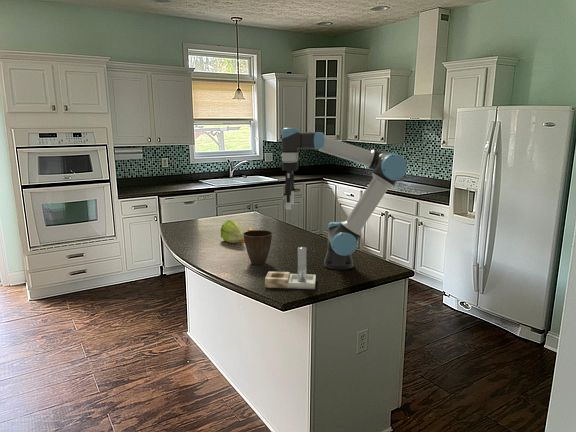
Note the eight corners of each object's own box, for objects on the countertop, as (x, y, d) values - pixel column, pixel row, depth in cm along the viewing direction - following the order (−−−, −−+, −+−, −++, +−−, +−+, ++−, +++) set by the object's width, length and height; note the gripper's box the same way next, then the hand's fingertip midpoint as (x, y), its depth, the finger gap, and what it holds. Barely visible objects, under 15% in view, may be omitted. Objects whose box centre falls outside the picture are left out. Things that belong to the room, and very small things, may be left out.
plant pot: (238, 264, 222) (237, 234, 218) (255, 257, 234) (254, 228, 231) (261, 268, 214) (261, 238, 211) (277, 261, 226) (277, 232, 223)
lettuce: (232, 249, 249) (230, 227, 246) (218, 241, 268) (216, 220, 265) (252, 245, 256) (250, 223, 252) (237, 237, 274) (235, 216, 271)
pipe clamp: (241, 243, 263) (240, 233, 262) (236, 241, 266) (236, 231, 265) (255, 239, 272) (254, 229, 271) (250, 238, 275) (250, 228, 274)
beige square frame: (289, 280, 198) (289, 272, 197) (287, 288, 188) (287, 279, 187) (268, 279, 199) (268, 271, 198) (265, 287, 189) (264, 278, 188)
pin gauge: (306, 280, 195) (306, 247, 192) (306, 283, 191) (306, 249, 188) (297, 280, 195) (298, 246, 192) (297, 283, 191) (297, 249, 188)
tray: (315, 279, 199) (315, 274, 198) (314, 289, 187) (314, 283, 186) (290, 278, 200) (290, 273, 199) (287, 288, 188) (287, 282, 188)
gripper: (284, 159, 210) (284, 202, 215) (278, 163, 186) (278, 211, 190) (299, 159, 210) (299, 202, 214) (295, 163, 185) (295, 211, 190)
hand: (289, 206), depth 202 cm, fingers open, 13 cm apart
